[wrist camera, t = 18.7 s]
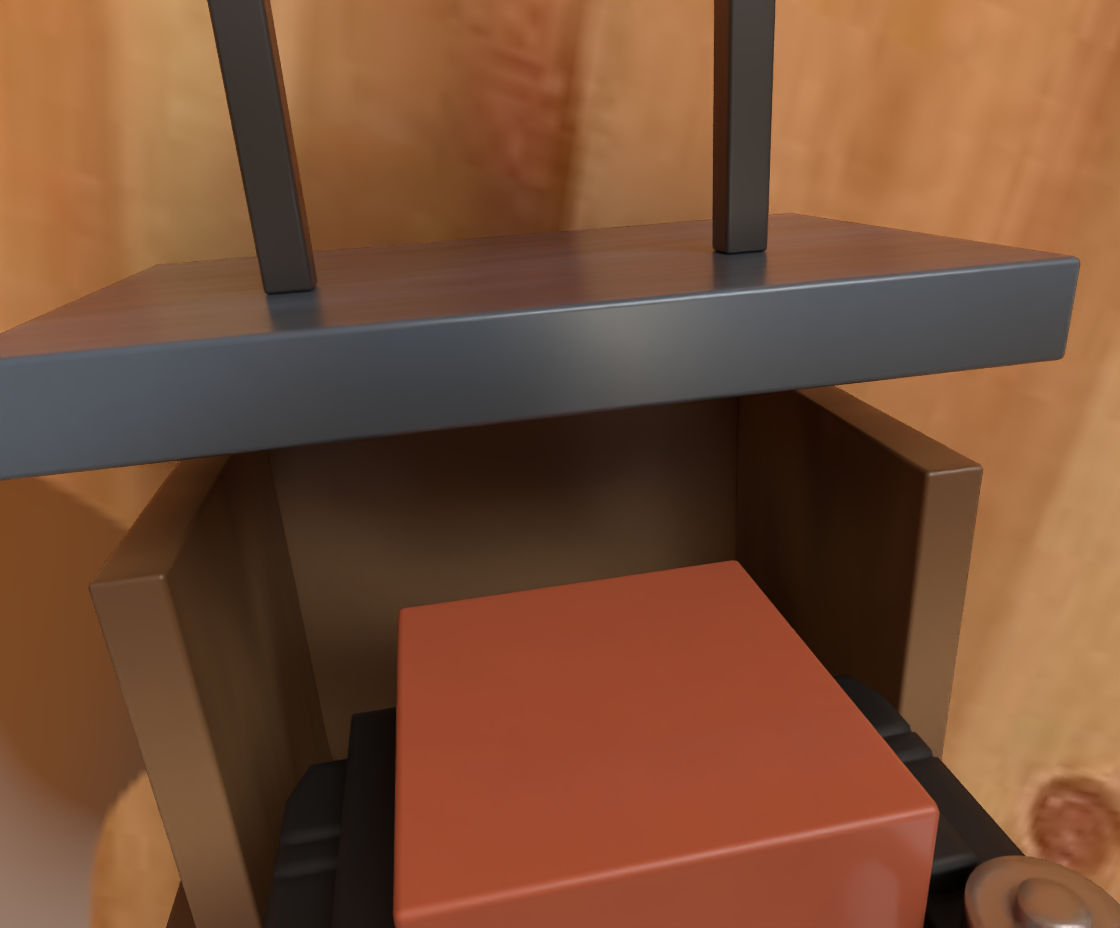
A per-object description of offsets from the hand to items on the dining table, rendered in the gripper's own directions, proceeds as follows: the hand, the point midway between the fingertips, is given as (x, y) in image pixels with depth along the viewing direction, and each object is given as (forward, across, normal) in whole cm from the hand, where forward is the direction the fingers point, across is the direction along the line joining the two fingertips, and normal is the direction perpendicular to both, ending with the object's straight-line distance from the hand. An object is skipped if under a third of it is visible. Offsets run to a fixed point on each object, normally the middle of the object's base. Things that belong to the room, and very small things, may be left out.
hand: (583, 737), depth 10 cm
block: (0, 0, 0) cm, 0 cm away
